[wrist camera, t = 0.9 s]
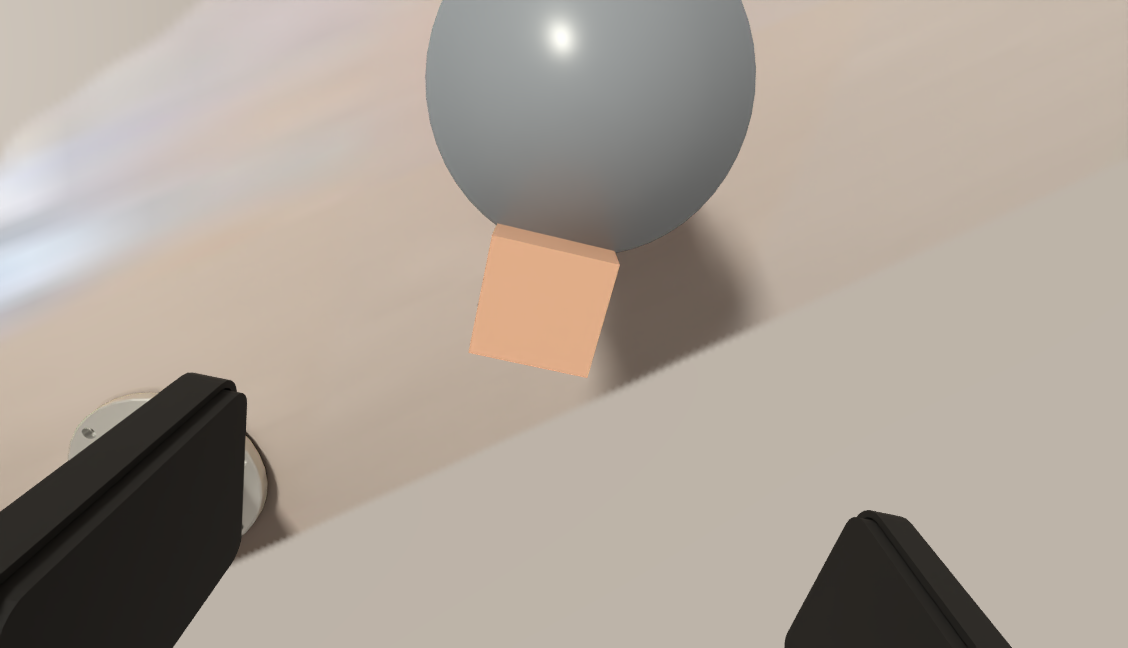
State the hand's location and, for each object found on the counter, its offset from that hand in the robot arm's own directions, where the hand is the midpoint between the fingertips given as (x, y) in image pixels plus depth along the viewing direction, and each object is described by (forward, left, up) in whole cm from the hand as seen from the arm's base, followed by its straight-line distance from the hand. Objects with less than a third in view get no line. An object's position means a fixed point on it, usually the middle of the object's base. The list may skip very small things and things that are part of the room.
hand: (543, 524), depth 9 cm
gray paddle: (+5, 0, -13) cm, 13 cm away
